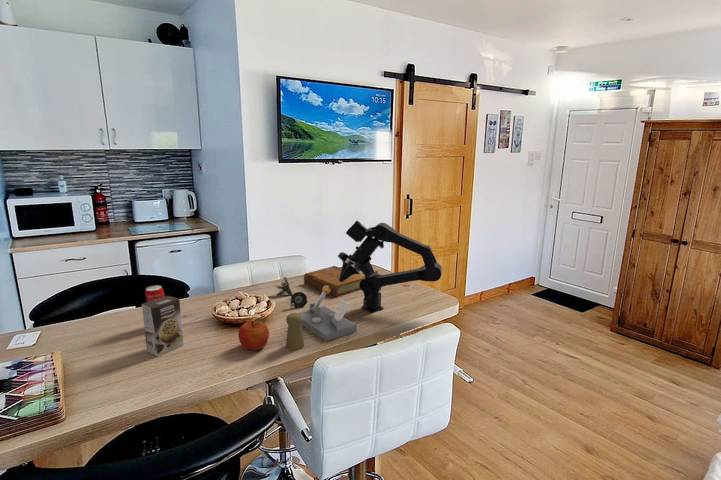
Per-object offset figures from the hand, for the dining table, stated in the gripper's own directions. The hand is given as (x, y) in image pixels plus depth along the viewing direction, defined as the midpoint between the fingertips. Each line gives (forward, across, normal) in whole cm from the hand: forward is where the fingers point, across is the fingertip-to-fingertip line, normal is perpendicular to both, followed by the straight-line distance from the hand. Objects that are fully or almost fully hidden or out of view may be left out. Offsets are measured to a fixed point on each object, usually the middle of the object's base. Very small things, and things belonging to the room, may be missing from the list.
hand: (340, 281), depth 155 cm
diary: (+2, +30, -18) cm, 35 cm away
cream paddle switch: (+13, -14, -1) cm, 19 cm away
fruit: (+35, -12, +16) cm, 40 cm away
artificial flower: (+19, +24, -1) cm, 31 cm away
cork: (+26, -17, +7) cm, 32 cm away
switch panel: (+16, -7, -3) cm, 18 cm away
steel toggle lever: (+15, 0, +1) cm, 15 cm away
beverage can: (+54, +18, +35) cm, 66 cm away
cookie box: (+53, 0, +34) cm, 63 cm away
